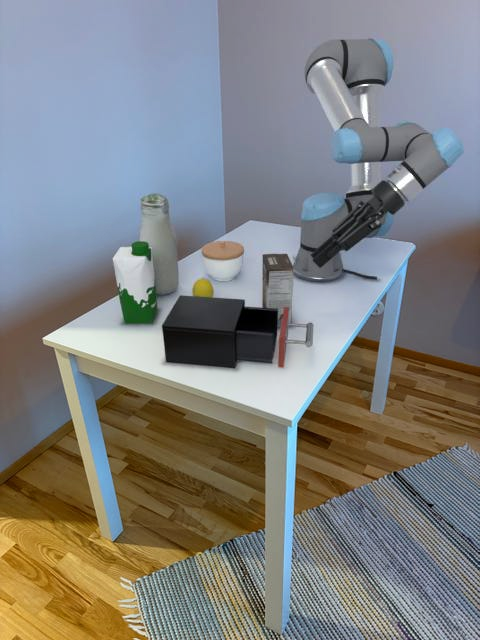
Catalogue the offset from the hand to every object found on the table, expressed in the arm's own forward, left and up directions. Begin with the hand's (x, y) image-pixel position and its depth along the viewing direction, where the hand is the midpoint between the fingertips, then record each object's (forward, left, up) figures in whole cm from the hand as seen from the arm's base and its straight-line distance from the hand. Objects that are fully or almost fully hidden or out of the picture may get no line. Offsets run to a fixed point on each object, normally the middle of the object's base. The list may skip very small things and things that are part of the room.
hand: (315, 261), depth 111 cm
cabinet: (+26, +13, -16) cm, 33 cm away
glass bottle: (+40, -16, -16) cm, 46 cm away
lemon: (+28, -8, -16) cm, 33 cm away
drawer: (+12, +15, -15) cm, 25 cm away
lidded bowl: (+23, -26, -16) cm, 38 cm away
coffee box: (+9, 0, -16) cm, 18 cm away
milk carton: (+44, -2, -16) cm, 47 cm away
